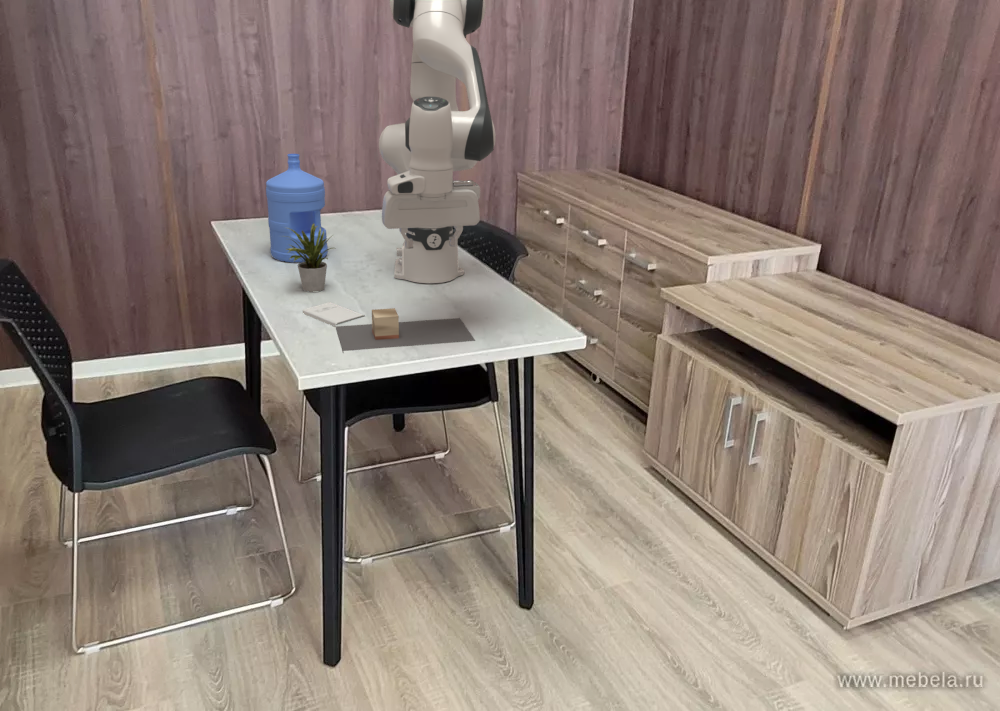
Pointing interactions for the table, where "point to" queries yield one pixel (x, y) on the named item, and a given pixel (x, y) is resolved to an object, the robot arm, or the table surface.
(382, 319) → the maple block
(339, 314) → the external hard drive
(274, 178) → the water jug
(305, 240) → the house plant
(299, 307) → the table surface
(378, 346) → the rubber mat
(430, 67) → the robot arm
